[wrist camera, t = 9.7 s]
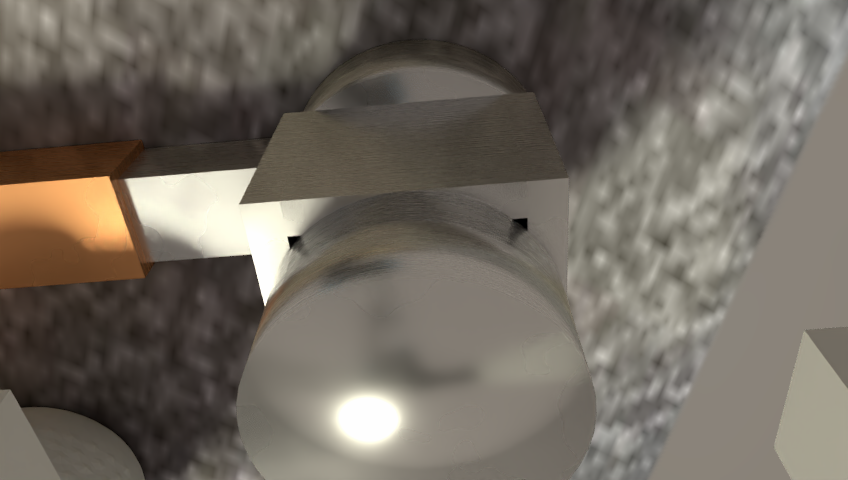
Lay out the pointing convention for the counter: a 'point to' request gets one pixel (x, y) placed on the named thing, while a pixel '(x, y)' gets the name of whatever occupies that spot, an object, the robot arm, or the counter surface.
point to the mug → (82, 446)
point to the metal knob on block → (414, 297)
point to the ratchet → (189, 177)
